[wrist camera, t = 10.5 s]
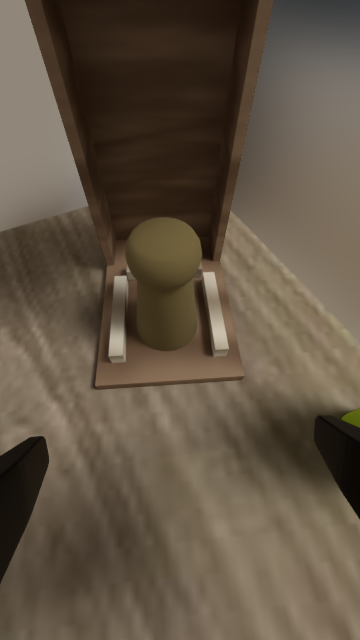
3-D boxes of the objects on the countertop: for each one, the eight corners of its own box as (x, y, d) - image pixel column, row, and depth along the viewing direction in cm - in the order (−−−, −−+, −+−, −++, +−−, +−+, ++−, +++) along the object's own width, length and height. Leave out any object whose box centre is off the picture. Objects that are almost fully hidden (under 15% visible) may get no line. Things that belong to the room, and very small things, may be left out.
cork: (124, 337, 25) (94, 249, 15) (153, 291, 28) (142, 195, 18) (183, 361, 23) (189, 281, 14) (206, 310, 26) (223, 217, 17)
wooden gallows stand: (241, 379, 24) (863, -554, 2) (97, 389, 23) (-919, -842, 2) (212, 238, 34) (279, -182, 12) (111, 242, 33) (-3, -198, 12)
